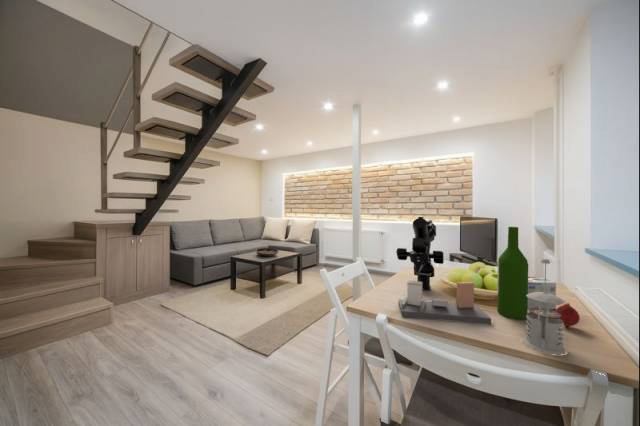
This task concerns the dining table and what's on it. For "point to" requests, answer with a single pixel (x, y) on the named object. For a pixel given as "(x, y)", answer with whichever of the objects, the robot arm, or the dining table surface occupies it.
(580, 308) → the dining table surface
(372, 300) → the dining table surface
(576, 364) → the dining table surface
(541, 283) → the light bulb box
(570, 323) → the onion
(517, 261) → the wine bottle
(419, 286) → the slider button
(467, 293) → the tan rectangular board
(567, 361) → the dining table surface
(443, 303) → the rocker switch
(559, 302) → the french press
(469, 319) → the control console
